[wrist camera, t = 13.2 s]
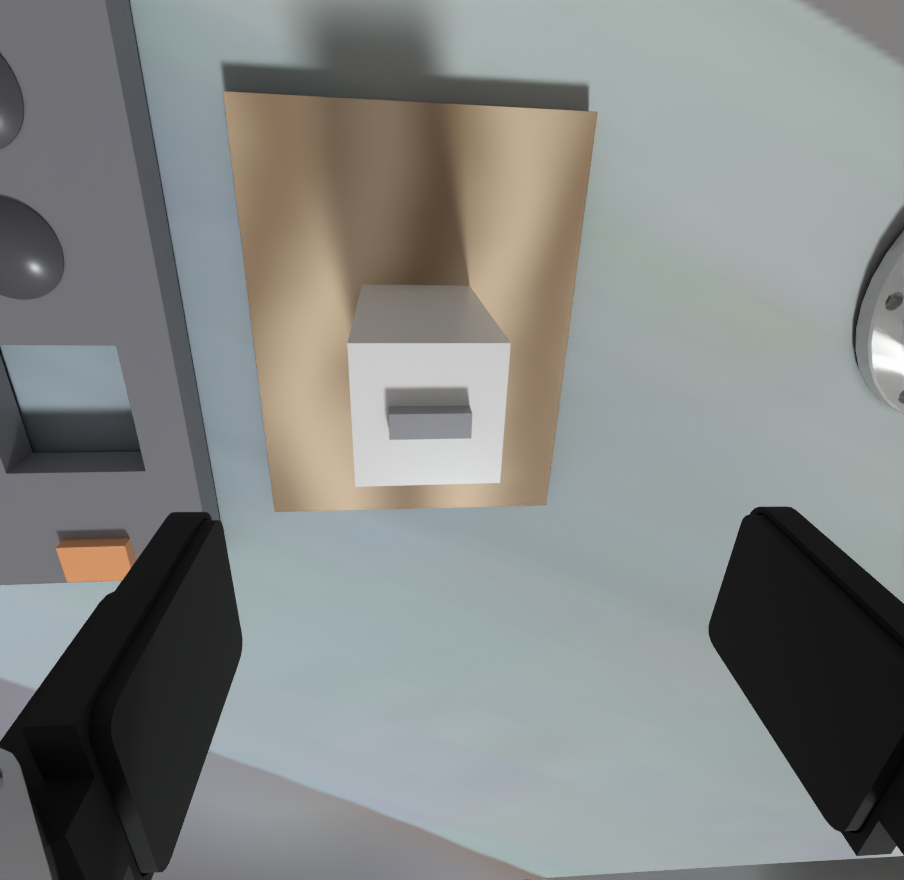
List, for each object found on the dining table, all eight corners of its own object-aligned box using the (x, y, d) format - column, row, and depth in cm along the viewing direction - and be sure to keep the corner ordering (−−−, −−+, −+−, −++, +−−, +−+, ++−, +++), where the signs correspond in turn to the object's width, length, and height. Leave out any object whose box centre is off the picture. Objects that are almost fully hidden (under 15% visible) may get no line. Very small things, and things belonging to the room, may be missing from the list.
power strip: (126, -13, 19) (89, -39, 17) (225, 552, 29) (211, 585, 27) (-200, -37, 18) (-288, -69, 15) (23, 558, 28) (-9, 593, 26)
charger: (469, 285, 24) (514, 349, 15) (465, 386, 26) (503, 492, 17) (362, 284, 23) (345, 349, 15) (366, 386, 25) (354, 496, 17)
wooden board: (590, 113, 22) (597, 111, 21) (542, 497, 30) (546, 505, 29) (228, 94, 21) (222, 91, 20) (277, 503, 28) (274, 511, 28)
